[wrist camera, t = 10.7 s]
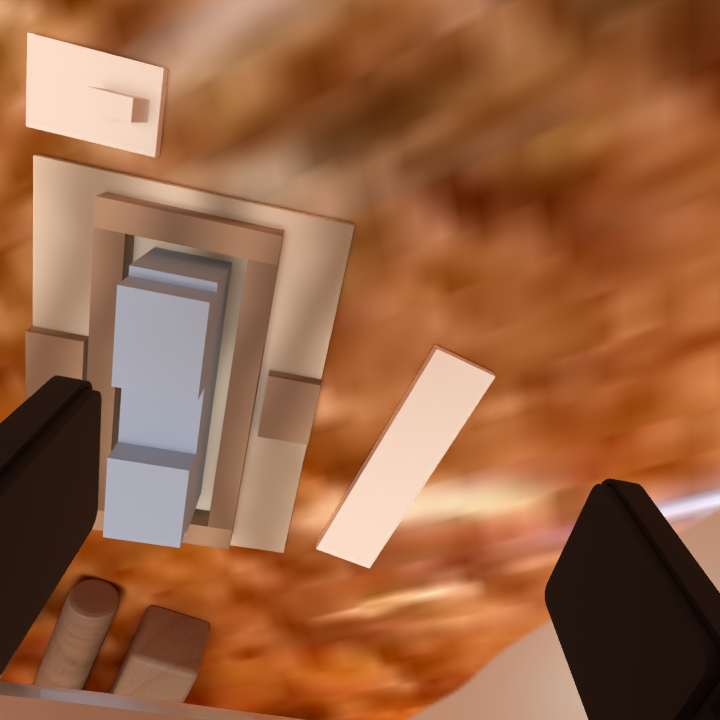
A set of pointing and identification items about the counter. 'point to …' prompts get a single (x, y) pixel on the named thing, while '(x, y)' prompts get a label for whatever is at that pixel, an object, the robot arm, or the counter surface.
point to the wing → (405, 456)
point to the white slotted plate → (94, 96)
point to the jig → (239, 338)
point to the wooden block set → (144, 657)
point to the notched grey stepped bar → (163, 392)
